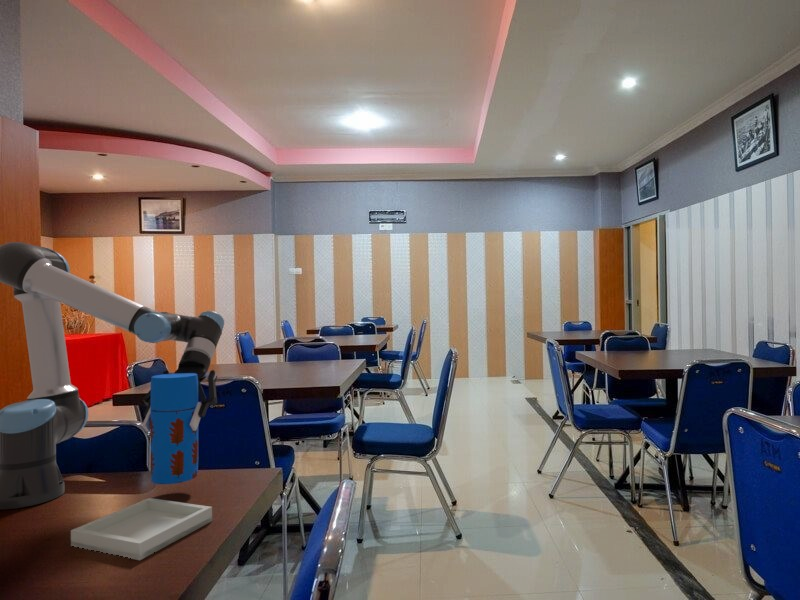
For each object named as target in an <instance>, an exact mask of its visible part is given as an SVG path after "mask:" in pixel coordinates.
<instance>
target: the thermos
mask: <svg viewBox="0 0 800 600" xmlns="http://www.w3.org/2000/svg"><path fill="white" fill-rule="evenodd" d="M172 373H173V374H163V373H162V374H156V375H152V376H151V378H150V379H151V380H150V390H151V429H150V478H151V479H150V480H151V483H153V484H156V485H172V484H173V485H174V484H181V483H185V482H188V481H191V480H193V479H195V478H197V476H198V474H199V472H198V471H199V426H198V427H197V430H196V431H193V430H192V428H191V426H190V422H191V419H192V417H193V414H194V411H195V409H196V406H197V403H198V402H199V394H198V376H197V374H195V373H174V372H172Z"/></svg>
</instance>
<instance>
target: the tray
mask: <svg viewBox="0 0 800 600" xmlns="http://www.w3.org/2000/svg"><path fill="white" fill-rule="evenodd" d="M211 522H213V506H207V505H201V504H193V503H187V502H181V501H173V500H165V499H160V498H152V497H148V498H145V499H143V500H141V501H139V502H136V503H133V504H131V505H128V506H126V507H123V508H122V509H121V508H120V509H119V510H117V511H114V512H111V513H109V514H107V515H105V516H102V517H100V518H97V519H95V520H93V521H90V522H87V523H86V524H83V525H80V526H78V527H75V528H73V529H71V530H70V547H72V546H74V547H73V548H77V547H79V548H78V549H82V548H84V549H83V550H87V549H88V550H87V551H91V550H94V551H93V552H96V551H100V552H99V553H101V552H103V554H106V553H108V554H107V555H111V554H113V555H112V556H116V555H119V556H118V557H120V556H123V557H122V558H125V557H128V558H127V559H130V558H131V560H136V561H141V560H143V559H145V558H147V557H149V556H151V555H153V554H154V552H155V553H157V552H158V551H160V550H162V549H164V548H165V547H167V546H169V545H171V544H172V543H175V542H177V541H178V540H180V539H182V538H184V537H185V536H188V535H189V534H191V533H193V532H195V531H197V530H198V529H200V528H203V527H204V526H206V525H208V524H210V523H211Z"/></svg>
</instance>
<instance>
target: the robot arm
mask: <svg viewBox="0 0 800 600" xmlns="http://www.w3.org/2000/svg"><path fill="white" fill-rule="evenodd" d="M70 269H71V268H70V265H69V263H68V261H67V259H66V258H65V257H64V256H63V255H61V253H59V252H57V251H55V250H53V249H51V248H48V247H46V246H45V247H44V246H39V245H38V246H37V245H35V244H31V243H30V244H29V243H27V242H22V241H21V242H20V241H9V242H6V243H3V244H1V245H0V283H1V284H3V285H7V286H9V287H12V291H13V298H14V299H16V300H17V301H19V302H20V303H21V305H22V314H23V320H24V327H25V328H24V329H25V336H26V337H25V338H26V344H27V351H28V358H29V359H28V360H29V365H30V374H31V383H32V388H33V389H32V392H30V394H29V395H28V396H27V400H24V401H23V400H22V401H19V402H14V403H12V404H8V405H6V406H4V407H2V408H1V409H0V510H1V511H3V510H12V509H13V510H14V509H15V510H16V509H22V508H26V507H31V506H36V505H39V504H43V503H47V502H49V501H50V502H51V501H53V500H55V499H57V498H59V497H60V496H62V495H63V494H64V493H65V492H66V491H65V488H66V487H65V486H66V485H65V481H64V478H63V476H62V474H61V471H60V469H59V466H58V464H57V445H58V444H60V443H61V442H64V441H67V440H69V439H71V438H73V437H75V435H77V434H78V433H80V432H81V431H82V430H83V429H84V428H85V426H86V425H87V422H88V419H89V407H88V406H87V404H86V402H85V401H84V400H83V399H81V398H80V394H79V388H78V387H77V386H75V385H73V384H72V382H71V376H70V375H71V374H70V368H69V361H68V351H67V345H66V344H67V343H66V336H65V330H64V329H65V328H64V322H63V315H62V313H63V312H62V307H61V304H64V305H66V306H68V307H70V308H73V309H75V310H78V311H80V312H82V313H85V314H87V315H89V316H91V317H93V318H96V319H99V320H101V321H104V322H105V323H108V324H111V325H113V326H114V327H117V328H120V329H122V330H124V331H127V332H129V333H130V334H132V335H136V337H137V338H138V339H139V340H141V341H142V342H144V343H145V342H146V343H148V344H149V343H150V344H157V343H161V342H168V341H174V342H180V343H181V342H183V343H186V346H185V348H184V351H183V354H182V356H181V358H180V361H179V362H178V366H177V369H176V370H175V371H174V372H169V371H168V370H164V371H163V372H162V374H173V373H195V374H197V376H198V397H199V398H200V401H198V403H197V406H196V409H195V411H194V414H193V417H192V419H191V422H190V426H191V428H192V430H193V431H196V430H197V427H198V428H199V424H200V421H201V419H202V418H204V417H205V416H206V413H207V410H208V408H209V407H210V406H217V404H218V398H217V386H216V382H217V378H218V375H217V372H216V371H215V369H212V370H210V371H209V368H210V365H211V362H212V360H213V357H214V355H215V352H216V349H217V346H218V343H219V342H220V340H221V336H222V335H223V329H224V325H225V320H224V318H223V316H222V315H221V314H220V313H218V312H216V311H214V310H207V311H202V312H201V313H200V314H199V315H198V317H197V316H189V315H185V314H184V315H182V314H178V313H177V314H176V313H171V312H166V311H156V310H154V309H151V308H149V307H147V306H145V305H142V304H141V303H138V302H136V301H134V300H132V299H129V298H127V297H124V296H122V295H120V294H118V293H115V292H112V291H110V290H109V289H107V288H103V287H102V286H99V285H98V284H95V283H94V282H93V283H92V282H90V281H89V280H85V279H83V278H81V277H80V276H77V275H74V274H72V273H71V272H70V271H71V270H70ZM206 379H207V382H208V383H207V384H208V398H207V396H206V394H205V391H204V389H203V387H202V384H201V383H202V382H203V381H204V380H206ZM142 401H143V403H144V404H145V406H146V409H145V411H144V416H145V418H144V420H143V422H142V424H141V425H142V427H143V429H144V430H145V431H146V432H151V389H149V391H148V392H147V393H146V394H145V395H144V397H143V398H142Z"/></svg>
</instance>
